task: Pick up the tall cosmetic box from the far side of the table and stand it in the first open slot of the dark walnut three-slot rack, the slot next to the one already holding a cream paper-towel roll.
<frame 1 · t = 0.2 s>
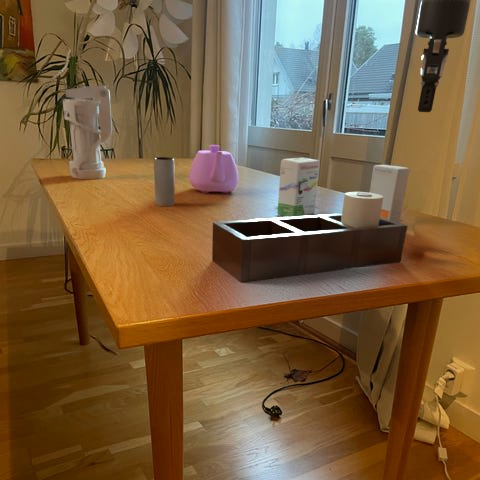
hand: (424, 112, 83), 22 cm above the table, tool pointing down, fingers open, 8 cm apart
cosmetic box: (381, 226, 100), on the table
lantern: (93, 177, 144), on the table
rack: (308, 261, 75), on the table
teapot: (214, 191, 130), on the table
grey cylinder: (165, 205, 111), on the table
ink box: (296, 214, 108), on the table
towel roll: (354, 256, 79), resting in rack
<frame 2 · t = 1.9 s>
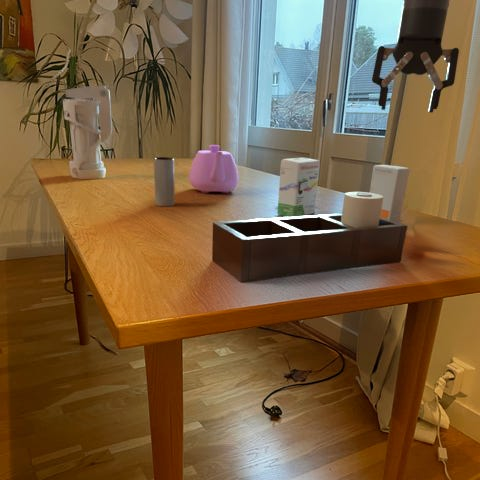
hand: (406, 111, 89), 22 cm above the table, tool pointing down, fingers open, 8 cm apart
nothing on the table moved.
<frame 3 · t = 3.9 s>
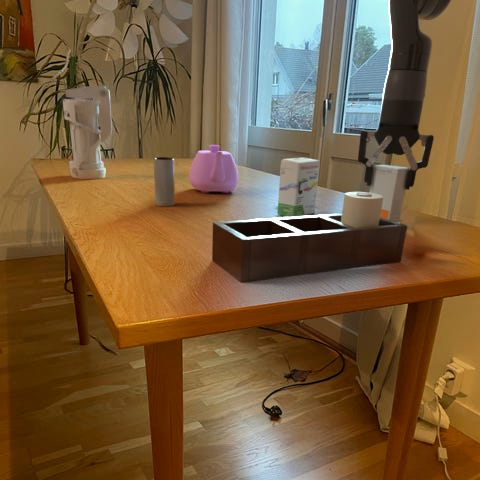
hand: (388, 187, 97), 8 cm above the table, tool pointing down, fingers closed on cosmetic box, 7 cm apart
cosmetic box: (381, 226, 100), on the table, touching gripper
everything else where it was.
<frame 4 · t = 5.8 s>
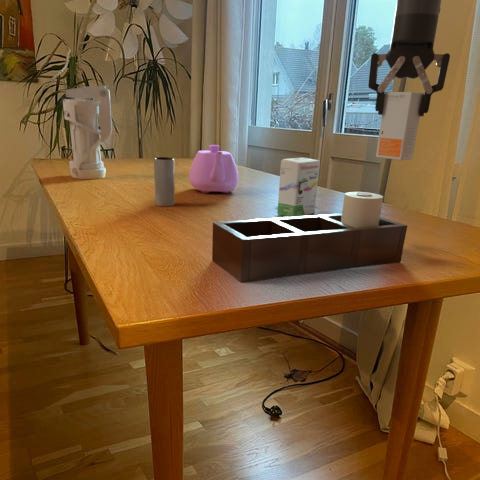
hand: (400, 115, 91), 21 cm above the table, tool pointing down, fingers closed on cosmetic box, 7 cm apart
cosmetic box: (393, 159, 95), point 13 cm above the table, touching gripper
everything else where it was.
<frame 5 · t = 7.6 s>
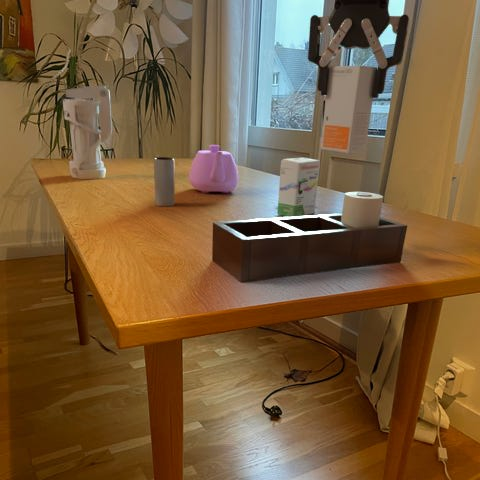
hand: (349, 96, 72), 24 cm above the table, tool pointing down, fingers closed on cosmetic box, 7 cm apart
cosmetic box: (342, 153, 75), point 16 cm above the table, touching gripper
everything else where it was.
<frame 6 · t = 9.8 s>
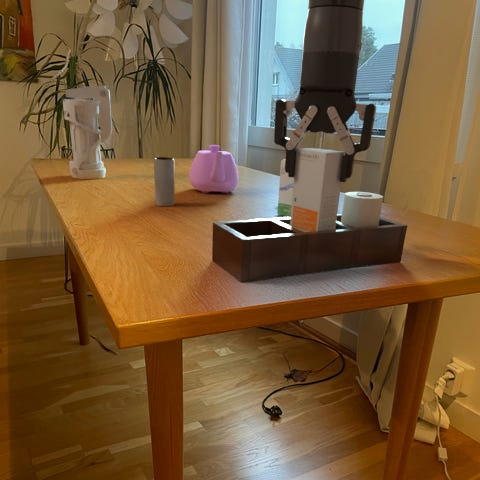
hand: (317, 178, 70), 13 cm above the table, tool pointing down, fingers closed on cosmetic box, 7 cm apart
cosmetic box: (312, 233, 74), point 5 cm above the table, touching gripper
everything else where it was.
when the fingers open (8 cm above the table, at t = 11.6 s): cosmetic box stays where it is, resting in rack.
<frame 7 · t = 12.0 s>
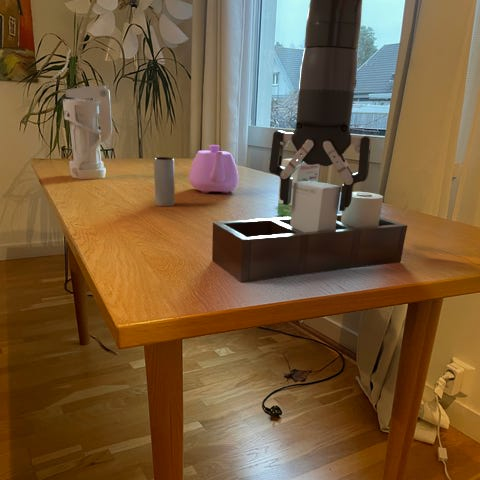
hand: (314, 206, 72), 9 cm above the table, tool pointing down, fingers open, 8 cm apart
cosmetic box: (308, 262, 76), resting in rack
everything else where it was.
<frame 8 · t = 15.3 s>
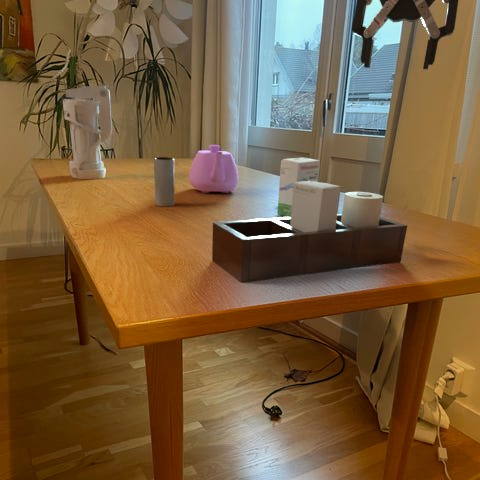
hand: (395, 68, 72), 28 cm above the table, tool pointing down, fingers open, 8 cm apart
nothing on the table moved.
at the end: cosmetic box 0.1 cm off-centre in the rack, point 0.0 cm above the rack's base; cosmetic box tilted 0°; the gripper is holding nothing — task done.
